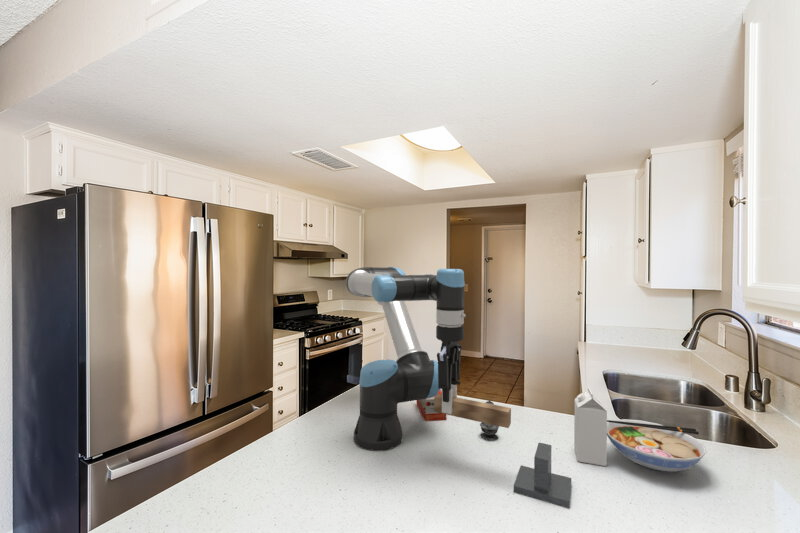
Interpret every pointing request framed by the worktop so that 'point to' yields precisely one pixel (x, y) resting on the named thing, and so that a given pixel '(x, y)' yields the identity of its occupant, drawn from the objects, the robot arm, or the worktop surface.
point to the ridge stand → (543, 480)
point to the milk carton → (590, 429)
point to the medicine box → (429, 409)
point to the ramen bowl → (656, 444)
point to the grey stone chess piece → (489, 429)
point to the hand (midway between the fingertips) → (449, 410)
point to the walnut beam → (476, 411)
